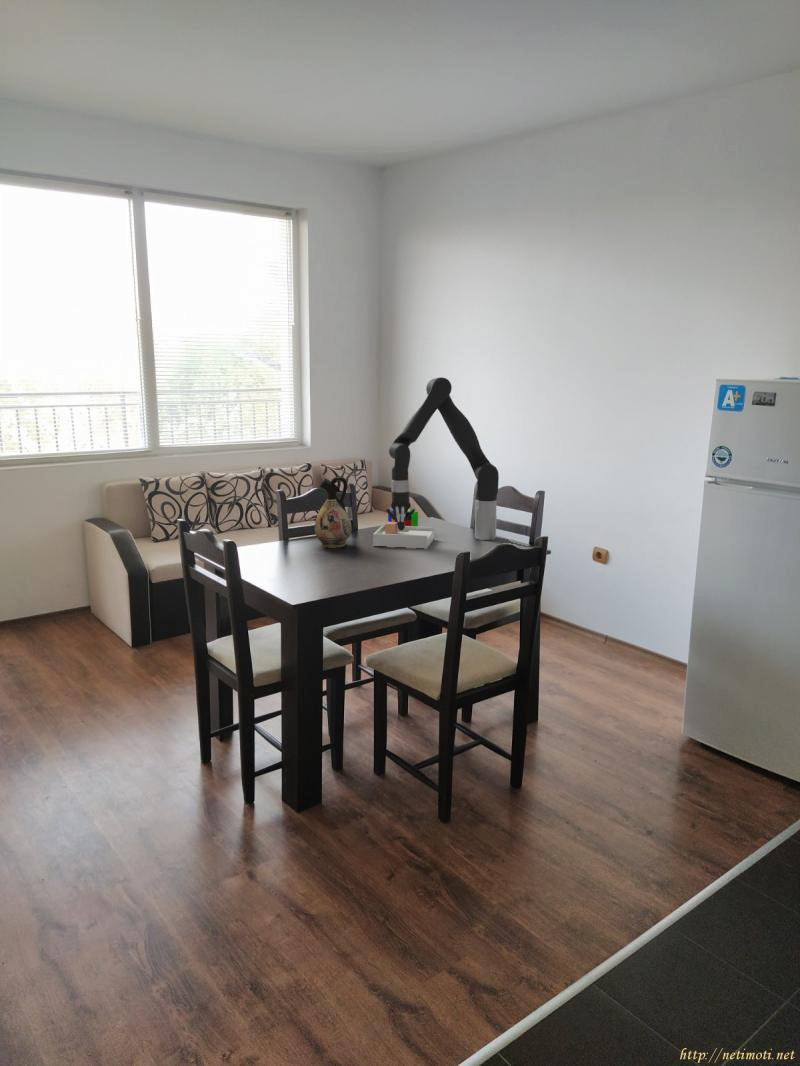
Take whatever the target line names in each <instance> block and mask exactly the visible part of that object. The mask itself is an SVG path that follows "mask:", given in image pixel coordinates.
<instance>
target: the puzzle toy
mask: <svg viewBox="0 0 800 1066" xmlns="http://www.w3.org/2000/svg"><path fill="white" fill-rule="evenodd" d="M392 510H393V509H392ZM409 510H410V509H409ZM409 510H408V511H407V512H406V514H405V518H406V517H407V516H408V515H409V513H410V512H409ZM392 512H393V513H394V514H395V516H396V517H397V515H396V513H395V512H394V510H393V511H392ZM387 515H388V516H387V517H388V519H387V522H397V521H396V520H393V519H392V517H391V516H390V515H389V514H388V513H387ZM418 523H419V512H418V510H417V511H416V510H415V512H414V513H413V514H412V515H411V517H410V518H409V519H408V520H407V521H405V526H415V527H419V524H418ZM397 526H398V522H397Z"/></svg>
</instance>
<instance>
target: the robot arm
mask: <svg viewBox="0 0 800 1066" xmlns="http://www.w3.org/2000/svg"><path fill="white" fill-rule="evenodd" d="M425 389H426V390H425V391H426V394H427V397H426V398H425V399H424V401H423V403H422V404H421V405H420V406H419V408H418V409H417V411H415V413H413V415H412V416H411V418H410V419H409V420H408V421H407V423H406V425H405V427H404V428H403V430H402V432H400V434H399V435H398V436H397V437H395V439H394V440H393V441H392V443H391V444H390V446H389V450H388V453H389V456H390V457H391V458H392V459H393V460H394V465H393V466H392V468H391V489H390V490H391V504H390V506H389V507H388V508H386V510H385V511H386V513H387V515H388V514H389V515H390V516H391V517H392V519H393V520H396V521H397V522H398V529H399V530H403V529H404V528H405V521H407V520H408V519H409V518H410V517H411V515H412V514H413V513H414V512H415V511H416V508H415V507H414V508H413V506H412V505H411V501H410V481H409V467H410V461H411V450H410V445H411V444H413V443H415V442H416V441H417V440H418V438H420V435H421V434H422V433H423V431H424V429H425V428H426V426H427V425H428V423H429V421H430V419H431V418H432V416H433V415H434V414H435V412H436V411H438V412H439V414H440V415H441V417H442V419H443V421H444V424H445V425H446V427H447V428H448V430H449V433H450V434H451V436H452V437H453V439H454V442H455V443H456V445H457V446H458V447H459V449H460V451H461V452H462V454H464V456H465V457H466V459H467V461H468V462H469V465H470V467H471V469H472V472H473V474H474V477H475V479H476V480H477V481H476V482H477V483H476V493H475V501H474V502H475V505H474V507H475V509H474V538H475V539H477V540H481V541H494V540H496V539H497V500H498V499H497V498H498V494H499V470H498V468H497V467H496V466H495V465H494V464H492V463H491V462H490V460H489V459H488V458H487V456H486V455H485V453H484V452H483V450H482V448H481V445H480V441H479V438H478V436H477V434H476V431H475V429H474V428H473V426H472V424H471V422H470V421H469V419H468V418H467V417H466V416H465V414H464V413H463V412H462V410H460V409H459V408H458V407H457V406H456V405H455V403H454V401H453V400H452V397H451V395H450V394H451V393H452V389H453V388H452V383H451V381H450V380H449V379H447V378H446V377H435V378H432V379H431V380H429V381H428V383H427V385H426V388H425ZM409 509H410V510H409ZM393 510H394V512H395V513H396V515H397V517H396V516H395V514H394V513H393V512H392V511H393ZM408 510H409V512H410V513H409V515H408V516H407V517H406V518H405V514H406V512H407V511H408Z"/></svg>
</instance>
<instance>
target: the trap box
mask: <svg viewBox="0 0 800 1066" xmlns="http://www.w3.org/2000/svg"><path fill="white" fill-rule="evenodd" d="M434 529H435V527H434V526H418V527H415V526H405V528H404V529H403V530H399V529H398V526H397V533H396V534H385V524H382V525H381V526H380V527H379V528H378V529H377V530H376V531H375V532H373V533H372V546H387V547H386V548H395V547H406V548H405V549H416V548H424V549H423V550H428V548H429V547H430V546H431V543H432V542H433V541H434V540H435V538H434V535H435V534H434V533H435V532H434ZM433 539H434V540H433ZM428 546H429V547H428Z"/></svg>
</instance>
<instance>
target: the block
mask: <svg viewBox="0 0 800 1066" xmlns="http://www.w3.org/2000/svg"><path fill="white" fill-rule="evenodd" d="M384 525H385V534H396V533H397V522H388V521H386V522H385V523H384Z"/></svg>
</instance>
